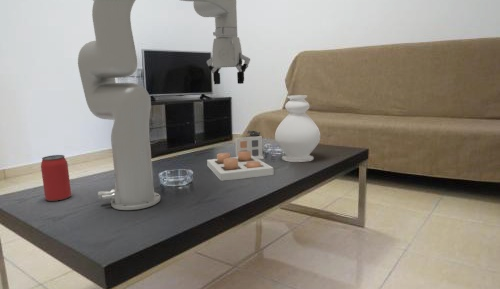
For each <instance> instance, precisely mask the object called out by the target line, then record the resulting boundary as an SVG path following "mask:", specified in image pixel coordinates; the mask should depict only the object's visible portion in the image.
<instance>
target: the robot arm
mask: <svg viewBox="0 0 500 289" xmlns="http://www.w3.org/2000/svg"><path fill="white" fill-rule="evenodd" d="M92 1H93V4H92V10H91V11H92V15H91V16H92V24H93V31H94V36H95V40H93V41H89V42H87V43H85V44H84V45H83V46H82V47H80V50H79V52H78V57H77V64H78V65H77V66H78V71H79V76H80V77H79V78H80V80H81V85H82V90H83V93H84V98H85V102H86V104H87V107H88V109H89V111H90V112H91V113H92V114H93V116H95V117H96V118H99V119H102V120H110V121H111V120H113V121H114V122H113V124H112V125H113V126H112V129H111V133H110V134H111V135H110V139H111V140H110V143H111V152H112V160H113V162H112V163H113V164H112V165H113V173H114V183H115V185H114V188H111V189H110V190H99V191H97V196H98V199H102V201H107V200H110V205H111V207H112V208H113V209H115V210H118V211H119V210H120V211H137V210H141V209H146V208H150V207H153V206H156V205H157V204H158V203H159V202H160V201H161V194H159V193H158V192H155V188H154V186H155V185H154V177H153V174H154V173H153V163H152V150H151V141H150V117H151V116H150V115H151V110H152V109H151V107H152V101H151V96H150V94H149V92H148V91H147V88H145V87H144V86H142V85H140V84H138V83H133V82H116V79H117V78H118V79H119V78H120V79H121V78H127V77H130V76H132V75H133V74H134V73H136V71H137V69H138V58H137V50H136V46H135V40H134V35H133V29H132V21H131V15H132V14H131V12H132V9H133V6H134V4H135V2H136V0H92ZM180 1H182V2H192V3H193V4H192V5H193V10H194V11H195V13H196V14H197V15H199V16H200V17H203V18H214V23H215V24H214V25H215V26H214V27H215V31H213V32H212V34H213V36H214V37H215V38H213V43H212V53H211V55H212V57H210V58H209V59H207V60H206V64H207V66H208V69H209V70H210V71H211V73H212V75H213V76H212V77H213V83H214V85H220V84H221V73H220V71H221V69H222V68H236V69H237V74H236V78H237V84H238V85H240V84H244V81H245V72H246V71H247V70H246V69H248V67H249V64H250V62H251V58H249V57H248V56H246V55H244V54H243V51H242V44H241V40H240V37H239V36H238V16H237V13H238V12H237V0H180ZM243 61H244V62H243Z"/></svg>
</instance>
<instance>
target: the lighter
mask: <svg viewBox="0 0 500 289" xmlns="http://www.w3.org/2000/svg"><path fill="white" fill-rule="evenodd" d="M246 133H247V134H249V135H245V137H258V136H262V135H261V131H258V130H251V129H250V130H247V131H246ZM263 138H264V136H262V139H263ZM263 154H264V151H263V148H262V155H263Z"/></svg>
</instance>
